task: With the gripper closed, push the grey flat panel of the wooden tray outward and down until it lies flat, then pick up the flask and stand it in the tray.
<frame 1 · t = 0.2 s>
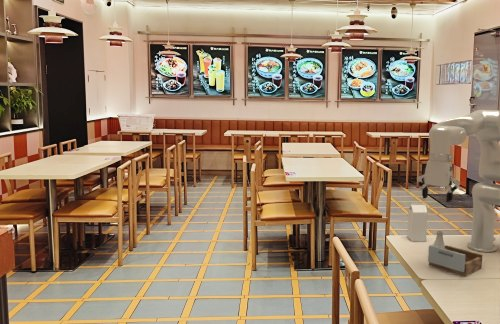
hand: (436, 199, 191), 30 cm above the table, tool pointing down, fingers open, 9 cm apart
grey flat panel: (445, 258, 194), point 6 cm above the table, hinge at 0.0°
flask: (438, 252, 218), on the table
milk carton: (416, 239, 236), on the table
wooden tray: (454, 266, 200), on the table
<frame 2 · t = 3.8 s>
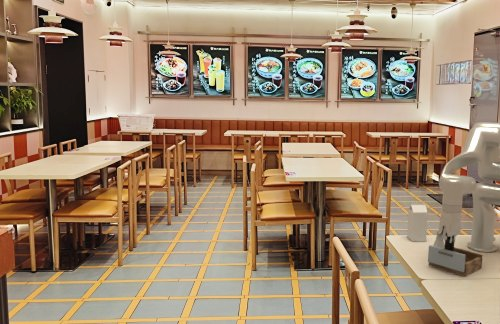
hand: (449, 251, 195), 8 cm above the table, tool pointing down, fingers closed
grey flat panel: (445, 258, 194), point 6 cm above the table, hinge at 0.1°, touching gripper
everything else where it was.
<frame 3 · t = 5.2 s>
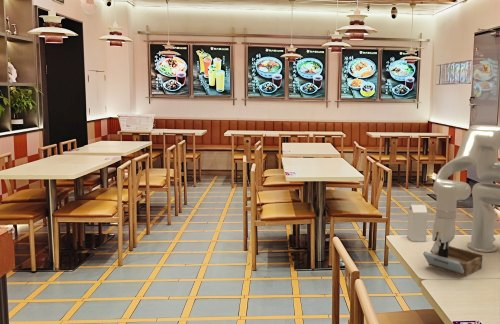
hand: (442, 257, 192), 7 cm above the table, tool pointing down, fingers closed
grey flat panel: (442, 262, 192), point 4 cm above the table, hinge at 41.7°, touching gripper
everything else where it was.
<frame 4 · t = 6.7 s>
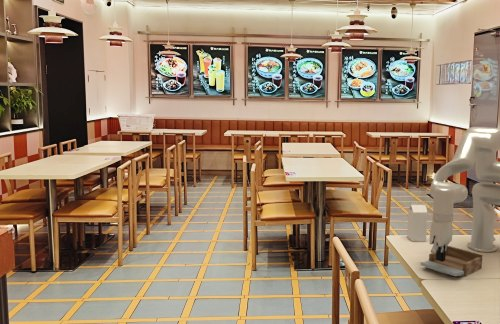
hand: (440, 260, 191), 6 cm above the table, tool pointing down, fingers closed
grey flat panel: (441, 268, 192), point 2 cm above the table, hinge at 82.1°
everything else where it was.
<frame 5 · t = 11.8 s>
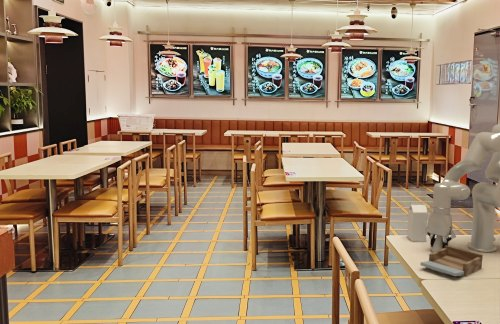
hand: (438, 248, 217), 2 cm above the table, tool pointing down, fingers closed on flask, 5 cm apart
flask: (438, 252, 218), on the table, touching gripper
everything else where it was.
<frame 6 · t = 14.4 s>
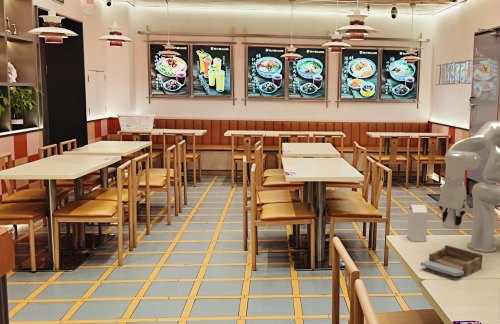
hand: (451, 222, 202), 18 cm above the table, tool pointing down, fingers closed on flask, 5 cm apart
flask: (451, 227, 203), point 16 cm above the table, touching gripper
everything else where it was.
when the fingers open (5 cm above the table, at t = 17.5 s): flask drops 1 cm, resting on wooden tray.
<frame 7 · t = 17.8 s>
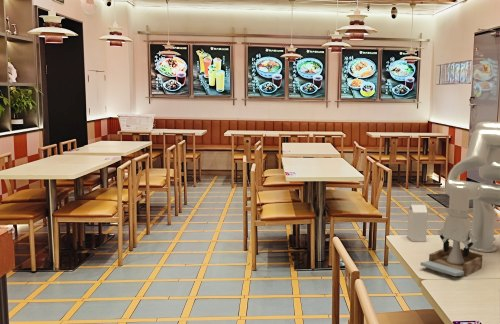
hand: (455, 253, 199), 6 cm above the table, tool pointing down, fingers open, 8 cm apart
flask: (455, 262, 199), point 2 cm above the table, touching wooden tray
everything else where it was.
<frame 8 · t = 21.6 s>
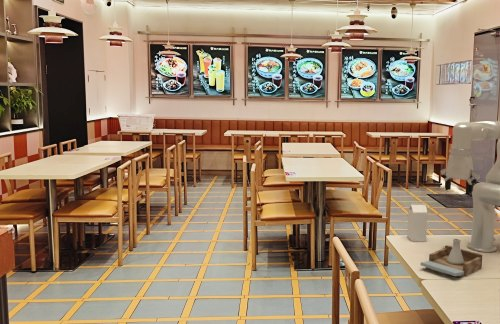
hand: (458, 191, 206), 30 cm above the table, tool pointing down, fingers open, 9 cm apart
nothing on the table moved.
at the end: grey flat panel at +82° (first picture: +0°); flask inside the target area on the wooden tray (0.6 cm from its centre), point 1.8 cm above the wooden tray's base; flask tilted 0° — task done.
